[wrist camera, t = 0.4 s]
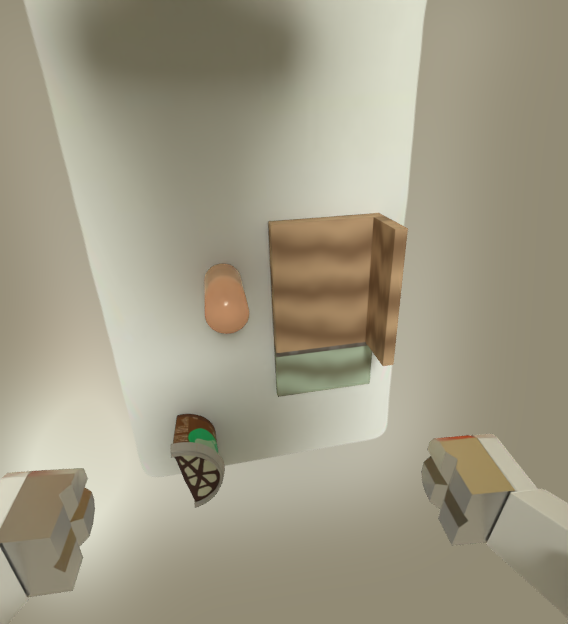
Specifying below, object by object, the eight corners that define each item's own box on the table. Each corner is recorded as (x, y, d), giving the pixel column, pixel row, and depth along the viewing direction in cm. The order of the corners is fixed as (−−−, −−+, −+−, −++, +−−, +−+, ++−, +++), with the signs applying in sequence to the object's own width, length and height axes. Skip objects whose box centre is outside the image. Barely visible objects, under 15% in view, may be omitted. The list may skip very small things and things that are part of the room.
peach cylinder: (202, 265, 55) (202, 296, 46) (239, 261, 56) (247, 291, 47) (206, 299, 58) (207, 335, 48) (242, 295, 59) (250, 330, 49)
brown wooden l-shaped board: (268, 221, 55) (279, 239, 47) (378, 213, 57) (407, 228, 49) (276, 392, 67) (287, 428, 59) (366, 379, 70) (388, 413, 62)
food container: (230, 451, 71) (234, 498, 62) (196, 461, 71) (195, 510, 62) (210, 398, 65) (212, 442, 57) (174, 408, 65) (169, 454, 56)
